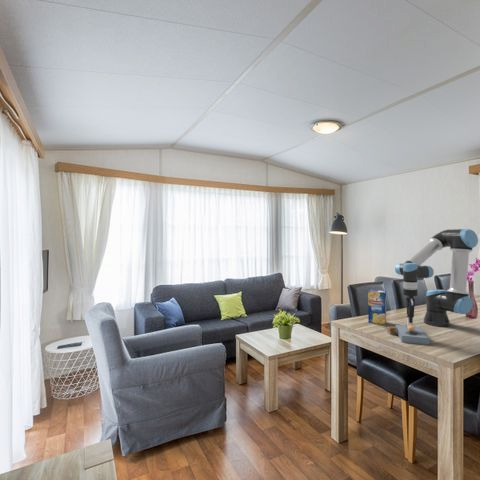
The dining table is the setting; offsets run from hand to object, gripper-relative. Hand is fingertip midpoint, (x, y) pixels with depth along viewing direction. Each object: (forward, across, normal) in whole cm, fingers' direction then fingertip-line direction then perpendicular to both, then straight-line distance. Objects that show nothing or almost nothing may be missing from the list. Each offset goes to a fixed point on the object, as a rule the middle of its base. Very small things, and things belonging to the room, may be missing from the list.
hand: (410, 327), depth 183 cm
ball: (0, +3, 0) cm, 3 cm away
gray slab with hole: (+5, +2, 0) cm, 5 cm away
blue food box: (+5, -26, -16) cm, 31 cm away
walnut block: (+5, -2, -10) cm, 11 cm away
